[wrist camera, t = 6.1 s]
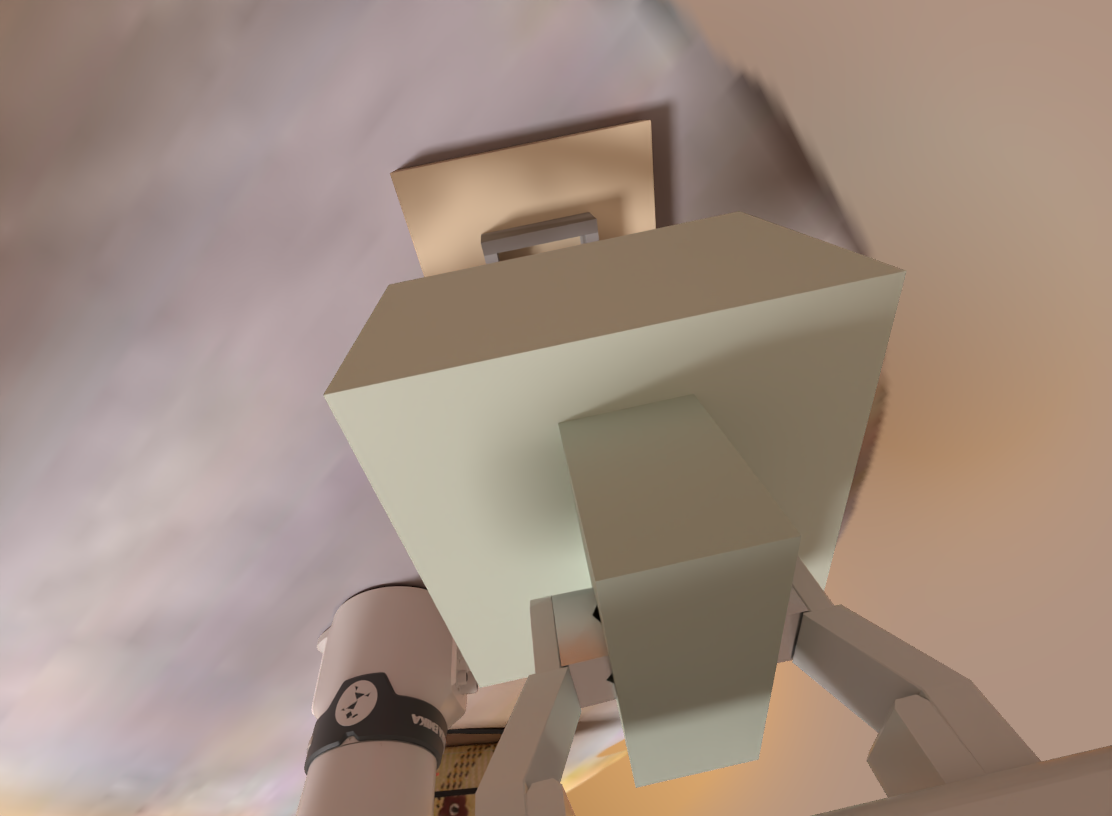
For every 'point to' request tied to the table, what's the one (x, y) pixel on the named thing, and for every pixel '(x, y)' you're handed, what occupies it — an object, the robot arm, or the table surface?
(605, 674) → the robot arm
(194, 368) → the table surface
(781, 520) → the housing
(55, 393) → the table surface
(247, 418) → the table surface
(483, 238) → the socket plate
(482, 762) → the clutch purse
